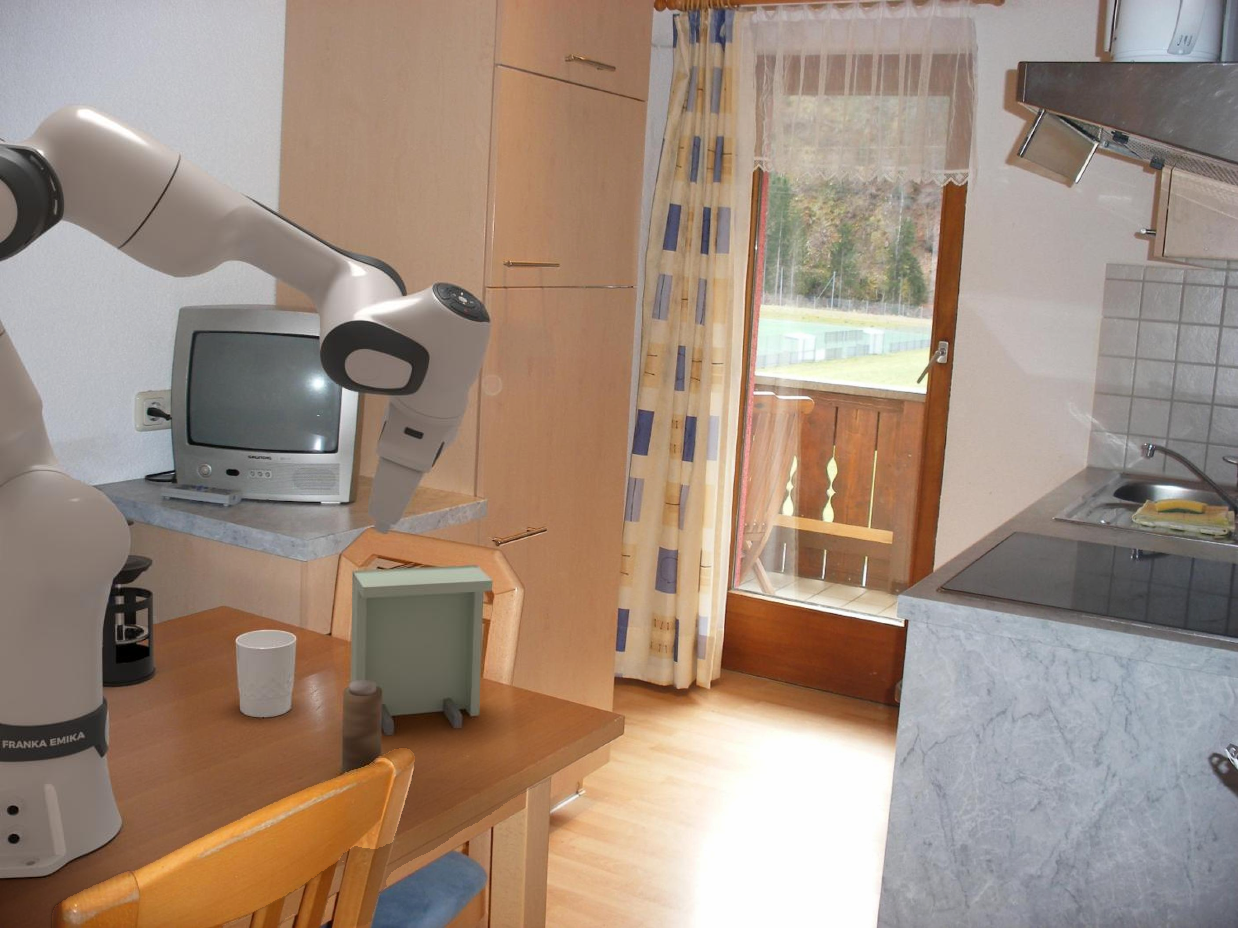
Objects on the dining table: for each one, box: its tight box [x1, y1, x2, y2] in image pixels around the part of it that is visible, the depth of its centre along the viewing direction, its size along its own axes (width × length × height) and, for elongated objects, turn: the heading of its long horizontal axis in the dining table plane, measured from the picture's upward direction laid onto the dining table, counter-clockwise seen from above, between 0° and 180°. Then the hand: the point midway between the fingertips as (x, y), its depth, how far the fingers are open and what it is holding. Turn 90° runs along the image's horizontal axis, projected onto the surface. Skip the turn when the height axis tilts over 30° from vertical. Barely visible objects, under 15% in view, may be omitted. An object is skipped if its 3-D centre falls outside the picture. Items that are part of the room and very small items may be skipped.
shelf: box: [350, 564, 493, 736], centre depth 158 cm, size 17×8×20 cm, turn 112°
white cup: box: [235, 629, 297, 718], centre depth 160 cm, size 8×8×10 cm
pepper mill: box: [341, 680, 382, 774], centre depth 142 cm, size 5×5×11 cm
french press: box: [102, 518, 156, 688], centre depth 168 cm, size 12×9×23 cm
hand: (391, 507), depth 143 cm, fingers open, 8 cm apart
